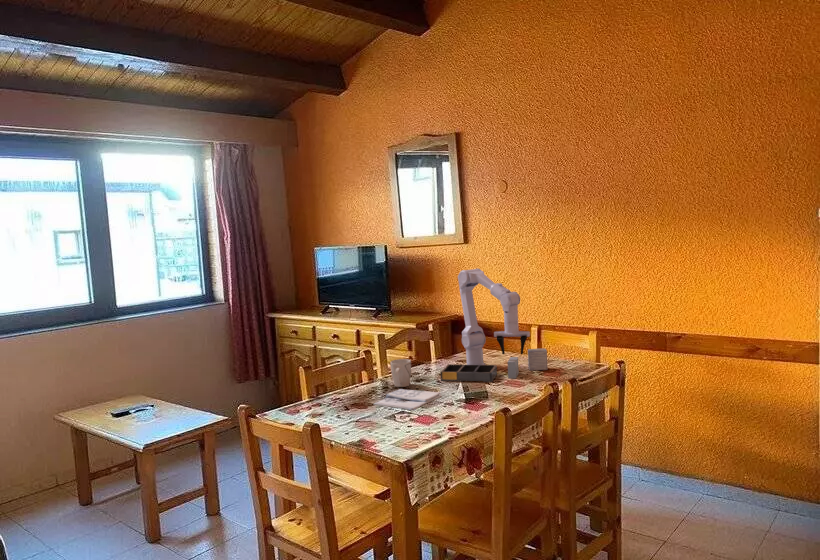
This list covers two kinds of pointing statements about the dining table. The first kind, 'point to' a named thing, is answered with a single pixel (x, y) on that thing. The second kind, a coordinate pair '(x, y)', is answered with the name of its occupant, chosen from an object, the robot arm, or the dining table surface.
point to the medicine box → (537, 359)
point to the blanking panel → (513, 368)
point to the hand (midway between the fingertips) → (512, 353)
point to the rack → (469, 373)
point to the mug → (401, 372)
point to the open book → (412, 396)
